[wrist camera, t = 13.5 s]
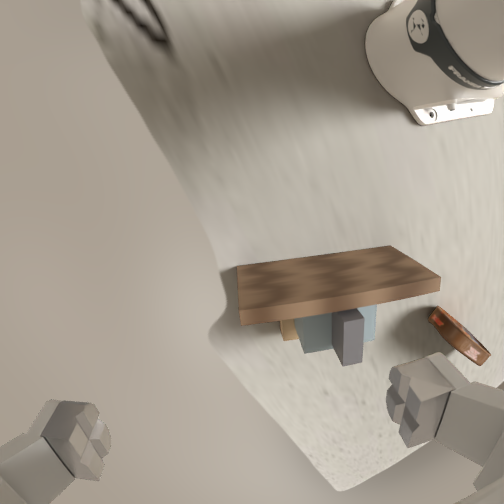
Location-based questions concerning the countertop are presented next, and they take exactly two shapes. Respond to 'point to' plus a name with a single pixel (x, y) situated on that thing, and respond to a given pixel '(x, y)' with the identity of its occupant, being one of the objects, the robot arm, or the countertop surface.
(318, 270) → the brown wooden piece
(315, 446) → the countertop surface
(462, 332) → the tin
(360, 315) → the blue block with handle
